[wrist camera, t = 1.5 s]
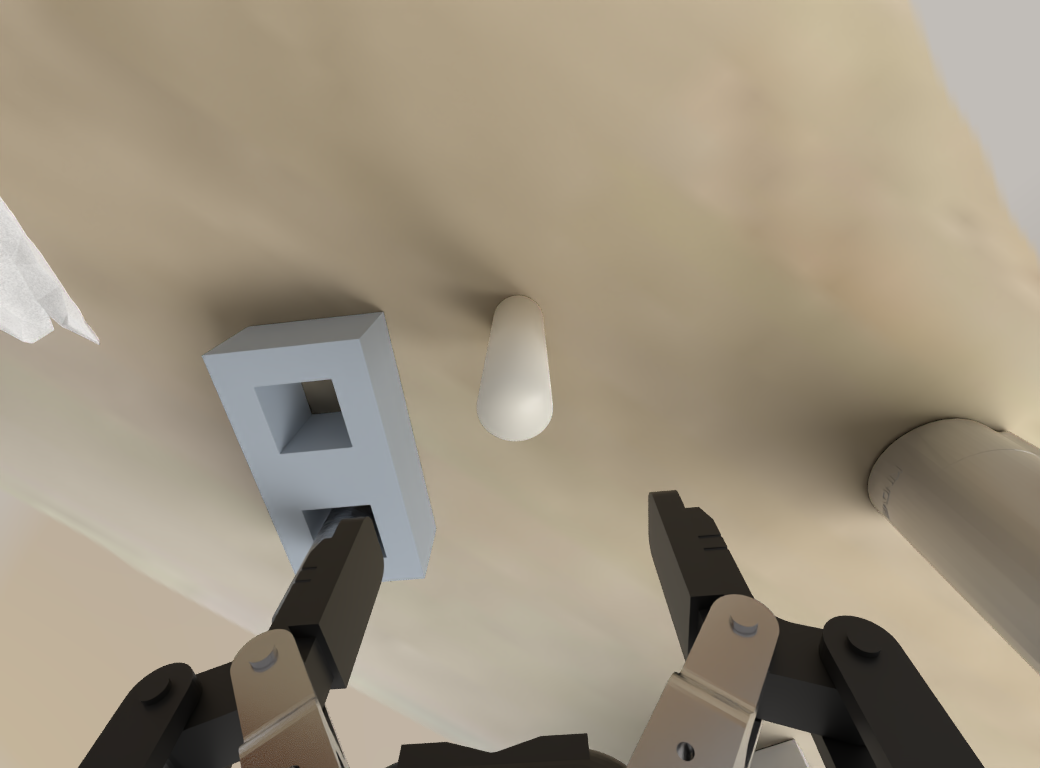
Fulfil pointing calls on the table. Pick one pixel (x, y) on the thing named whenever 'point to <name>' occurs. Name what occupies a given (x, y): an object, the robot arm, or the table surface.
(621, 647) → the table surface
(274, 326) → the hole block
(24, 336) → the cloth
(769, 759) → the toy
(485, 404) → the cream peg
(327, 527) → the grey peg
